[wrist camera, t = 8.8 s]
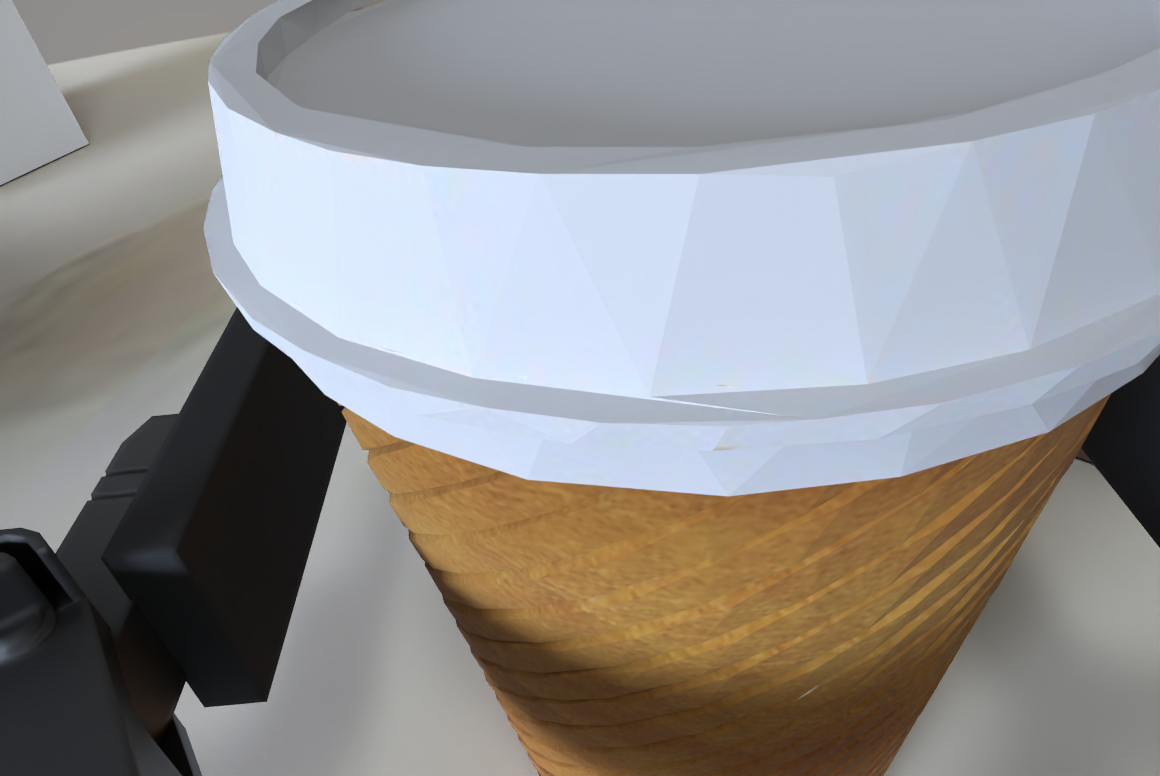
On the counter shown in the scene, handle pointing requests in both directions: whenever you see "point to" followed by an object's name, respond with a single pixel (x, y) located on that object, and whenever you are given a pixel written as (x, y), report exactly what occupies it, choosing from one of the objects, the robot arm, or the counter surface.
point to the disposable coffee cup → (702, 329)
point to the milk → (30, 104)
